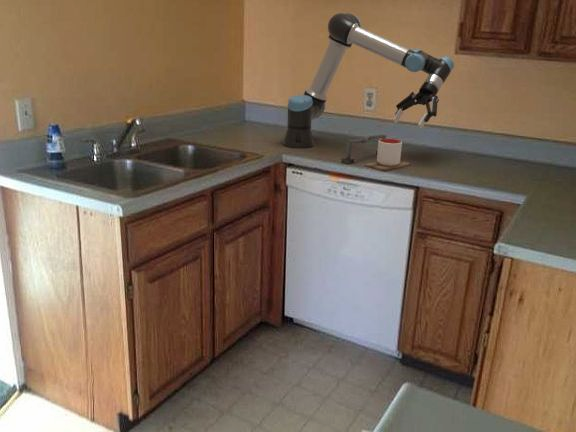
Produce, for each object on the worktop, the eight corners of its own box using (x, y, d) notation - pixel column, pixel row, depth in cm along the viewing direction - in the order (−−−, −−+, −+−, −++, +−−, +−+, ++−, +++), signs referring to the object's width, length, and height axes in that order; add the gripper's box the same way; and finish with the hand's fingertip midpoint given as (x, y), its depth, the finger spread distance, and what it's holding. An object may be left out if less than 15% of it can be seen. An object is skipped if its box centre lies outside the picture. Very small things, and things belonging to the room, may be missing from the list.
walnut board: (364, 166, 234) (364, 164, 234) (390, 160, 246) (390, 158, 245) (385, 171, 226) (385, 169, 226) (410, 165, 238) (410, 163, 238)
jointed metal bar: (340, 162, 239) (342, 140, 235) (380, 153, 256) (382, 133, 253) (348, 164, 235) (350, 142, 232) (388, 155, 253) (390, 135, 250)
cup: (399, 167, 230) (402, 144, 227) (375, 165, 232) (377, 142, 229) (399, 161, 240) (402, 139, 236) (377, 160, 241) (379, 137, 238)
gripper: (458, 96, 235) (433, 134, 231) (410, 89, 253) (387, 124, 248) (453, 84, 230) (428, 123, 226) (404, 78, 247) (381, 114, 243)
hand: (406, 124), depth 237 cm, fingers open, 13 cm apart
